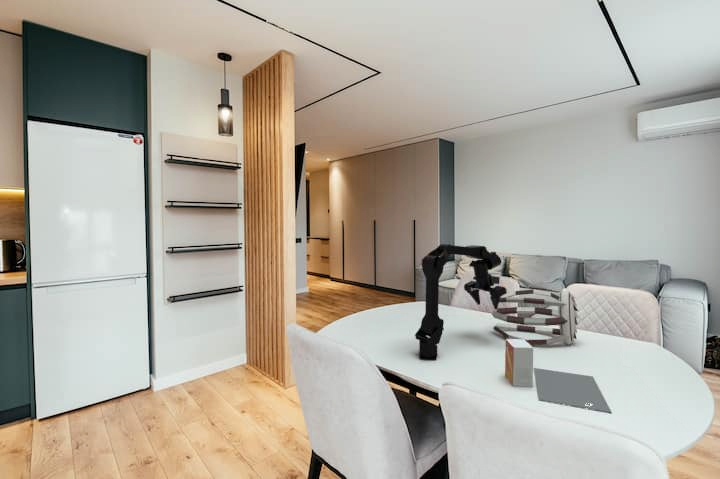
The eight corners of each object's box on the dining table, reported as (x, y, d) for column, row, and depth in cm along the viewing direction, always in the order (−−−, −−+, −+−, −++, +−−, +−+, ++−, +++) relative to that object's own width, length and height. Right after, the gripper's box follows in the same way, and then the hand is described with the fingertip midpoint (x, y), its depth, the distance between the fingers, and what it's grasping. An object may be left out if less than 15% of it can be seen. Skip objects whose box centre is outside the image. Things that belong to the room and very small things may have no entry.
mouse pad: (538, 400, 103) (538, 399, 103) (533, 368, 125) (533, 367, 125) (611, 413, 96) (611, 412, 96) (592, 377, 118) (592, 376, 118)
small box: (504, 375, 120) (505, 338, 119) (523, 376, 119) (524, 338, 119) (512, 386, 112) (513, 347, 111) (533, 387, 111) (534, 347, 110)
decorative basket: (577, 355, 135) (486, 343, 156) (582, 337, 157) (502, 329, 178) (574, 293, 135) (483, 289, 156) (580, 284, 157) (499, 282, 178)
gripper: (512, 269, 145) (517, 304, 148) (477, 265, 162) (482, 296, 164) (494, 279, 140) (500, 314, 143) (460, 273, 156) (466, 305, 159)
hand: (487, 306), depth 153 cm, fingers open, 9 cm apart
